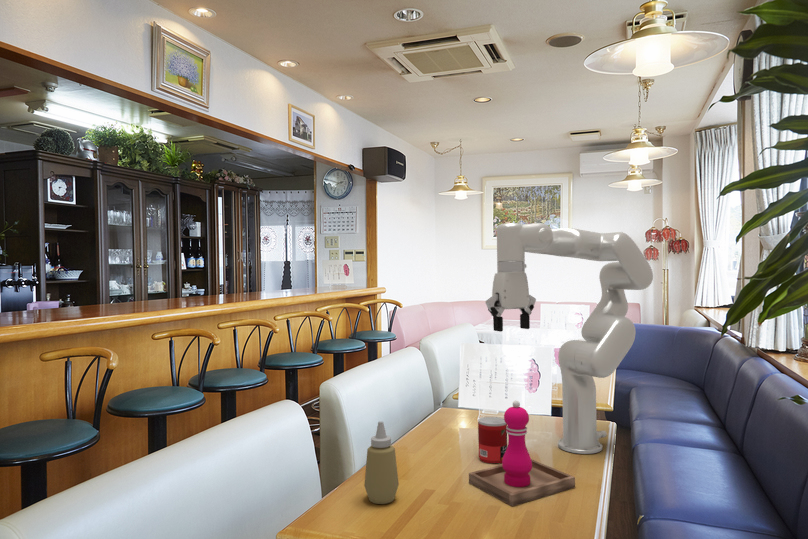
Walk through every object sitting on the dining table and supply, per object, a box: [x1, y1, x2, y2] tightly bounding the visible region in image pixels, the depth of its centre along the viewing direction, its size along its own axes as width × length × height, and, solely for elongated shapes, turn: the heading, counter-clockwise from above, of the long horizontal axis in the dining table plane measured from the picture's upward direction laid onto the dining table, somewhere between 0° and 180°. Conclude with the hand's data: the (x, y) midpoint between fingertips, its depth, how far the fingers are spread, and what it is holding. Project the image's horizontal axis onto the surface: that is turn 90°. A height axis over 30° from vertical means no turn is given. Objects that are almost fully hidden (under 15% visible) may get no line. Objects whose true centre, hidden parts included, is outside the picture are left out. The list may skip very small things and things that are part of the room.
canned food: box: [477, 416, 508, 465], centre depth 154 cm, size 8×8×11 cm
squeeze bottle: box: [363, 421, 400, 505], centre depth 128 cm, size 8×8×18 cm
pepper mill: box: [501, 400, 532, 487], centre depth 134 cm, size 7×7×20 cm
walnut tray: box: [468, 458, 576, 507], centre depth 135 cm, size 20×16×2 cm
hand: (511, 329), depth 152 cm, fingers open, 9 cm apart
